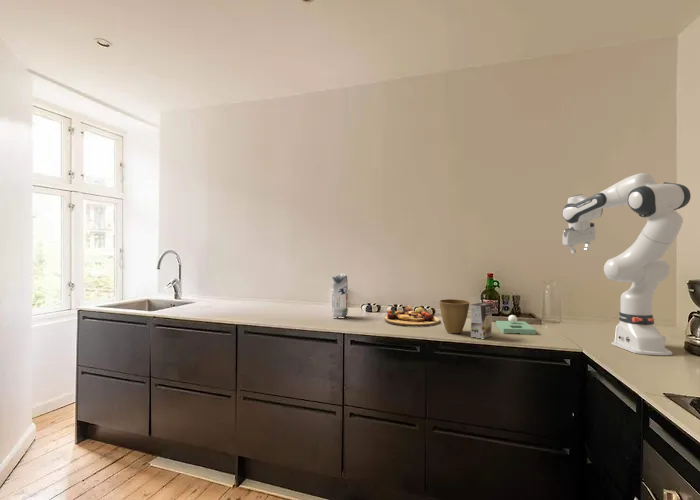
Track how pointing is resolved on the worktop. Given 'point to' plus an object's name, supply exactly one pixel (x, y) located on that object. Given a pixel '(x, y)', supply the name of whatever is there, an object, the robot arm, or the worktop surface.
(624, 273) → the robot arm
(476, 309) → the coffee box
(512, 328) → the putting board
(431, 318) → the wooden plate with food
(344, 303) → the juice carton
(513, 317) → the ball
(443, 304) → the plant pot
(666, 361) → the worktop surface
